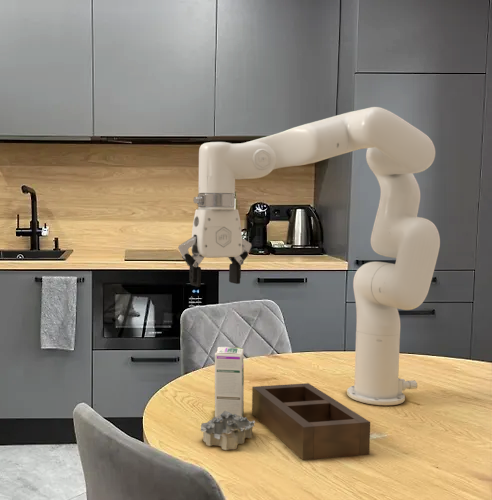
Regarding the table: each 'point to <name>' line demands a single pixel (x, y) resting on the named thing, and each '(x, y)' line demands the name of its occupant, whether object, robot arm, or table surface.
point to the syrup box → (229, 380)
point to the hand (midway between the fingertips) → (215, 284)
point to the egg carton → (227, 430)
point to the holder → (311, 421)
